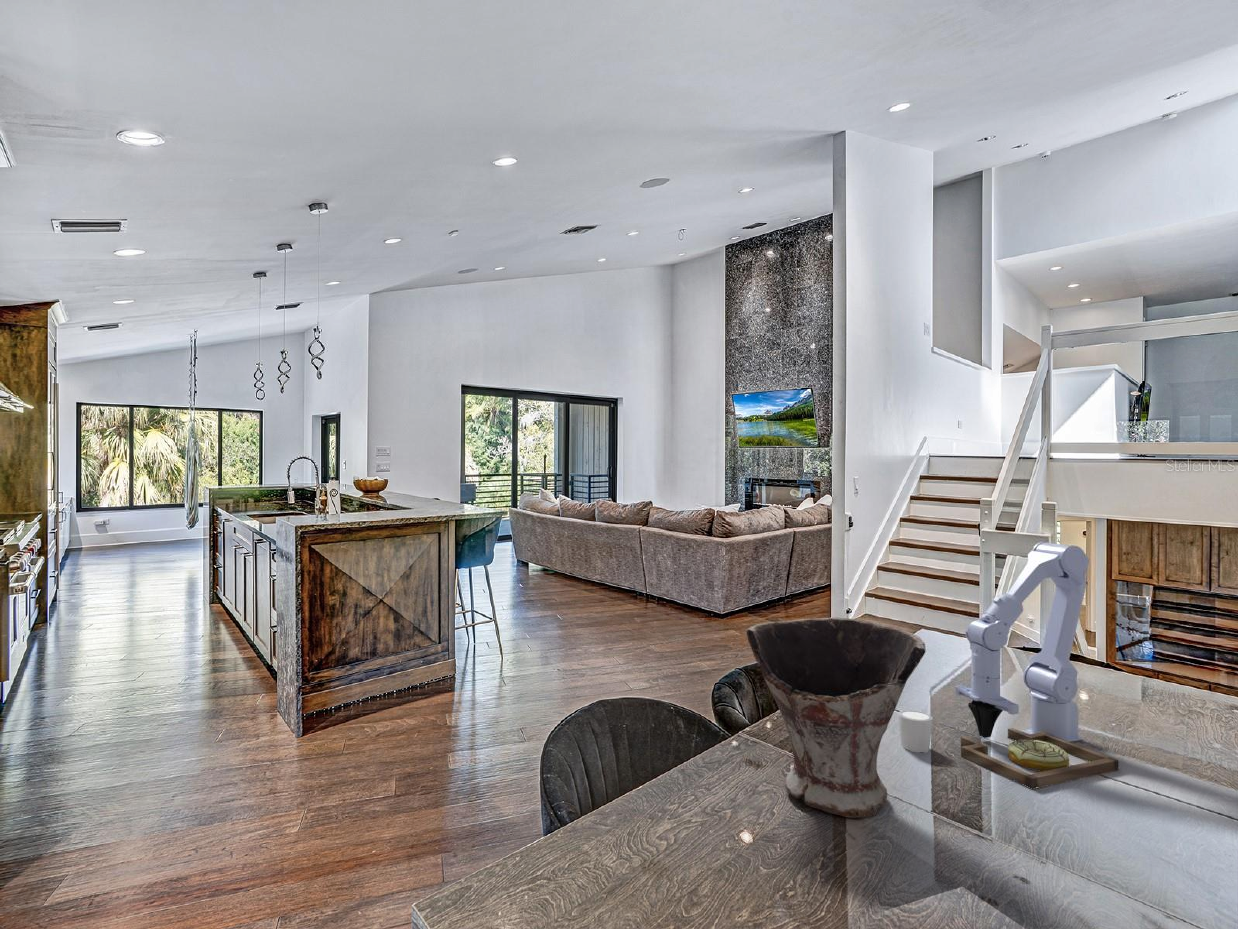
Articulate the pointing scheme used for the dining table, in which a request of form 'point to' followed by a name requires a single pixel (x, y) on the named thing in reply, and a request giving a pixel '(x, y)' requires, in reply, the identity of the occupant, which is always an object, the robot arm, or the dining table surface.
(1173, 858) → the dining table surface
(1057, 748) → the decorated donut
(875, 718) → the vessel
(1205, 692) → the dining table surface
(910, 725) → the white cylinder
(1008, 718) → the dining table surface
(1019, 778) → the frame
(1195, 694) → the dining table surface
